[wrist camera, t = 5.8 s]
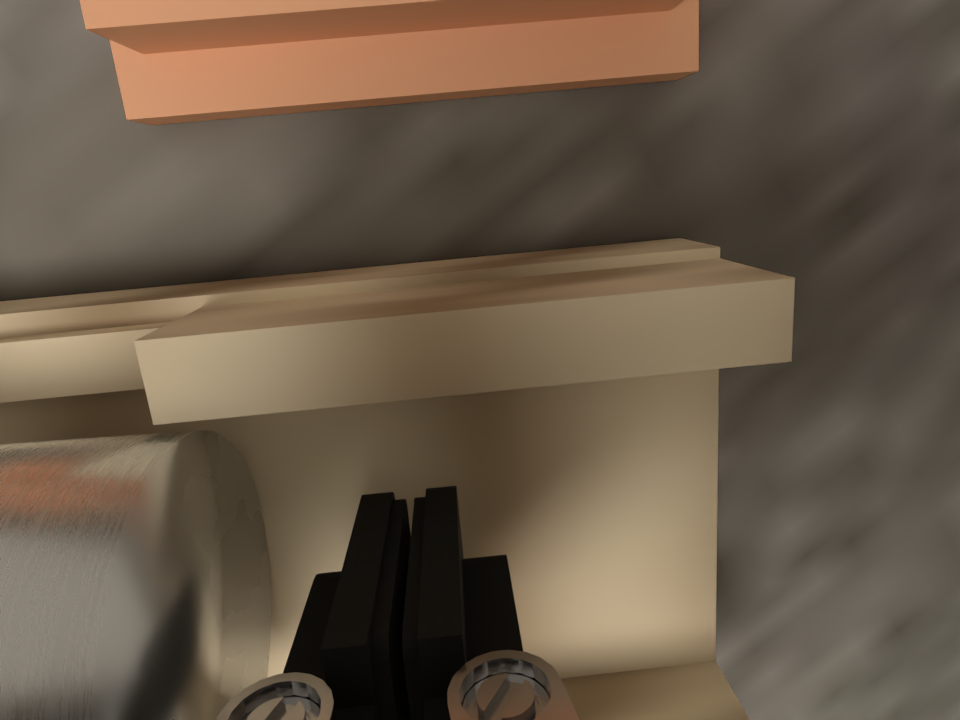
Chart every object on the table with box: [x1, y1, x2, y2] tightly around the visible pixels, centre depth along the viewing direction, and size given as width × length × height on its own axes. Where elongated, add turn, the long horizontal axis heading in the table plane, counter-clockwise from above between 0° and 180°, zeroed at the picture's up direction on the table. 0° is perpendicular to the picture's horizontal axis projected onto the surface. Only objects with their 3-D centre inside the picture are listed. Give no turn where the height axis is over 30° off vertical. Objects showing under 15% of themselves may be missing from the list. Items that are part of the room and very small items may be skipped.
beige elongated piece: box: [0, 238, 795, 720], centre depth 12 cm, size 21×10×5 cm, turn 95°
